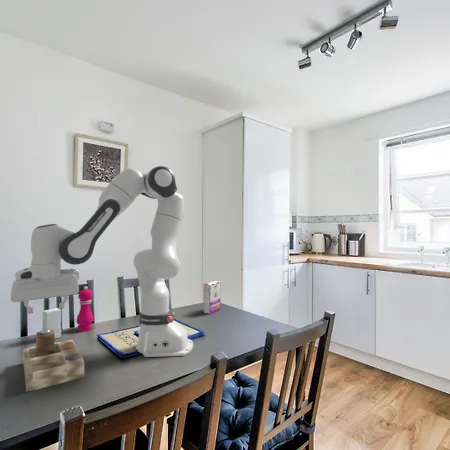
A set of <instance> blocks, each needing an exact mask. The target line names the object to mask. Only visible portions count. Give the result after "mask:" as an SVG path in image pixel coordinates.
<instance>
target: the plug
mask: <svg viewBox="0 0 450 450" xmlns="http://www.w3.org/2000/svg"><path fill="white" fill-rule="evenodd" d="M35 337H36V340H35V342H36V343H35V347H36V357H40V356H45V355H50V354H54V343H55V339H56V338H55V334H54V331H53V330H51V329H43V328H42V329H40V331H36V336H35Z"/></svg>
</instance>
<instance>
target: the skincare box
mask: <svg viewBox="0 0 450 450" xmlns="http://www.w3.org/2000/svg"><path fill="white" fill-rule="evenodd" d="M43 329H51V330H53V331H54V334H55V339H58V338H61V337H62V309H59V307H56V308H51V309H46V310H42V330H43Z"/></svg>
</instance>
